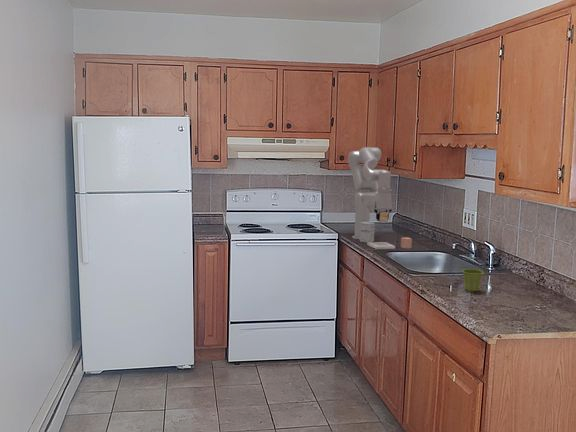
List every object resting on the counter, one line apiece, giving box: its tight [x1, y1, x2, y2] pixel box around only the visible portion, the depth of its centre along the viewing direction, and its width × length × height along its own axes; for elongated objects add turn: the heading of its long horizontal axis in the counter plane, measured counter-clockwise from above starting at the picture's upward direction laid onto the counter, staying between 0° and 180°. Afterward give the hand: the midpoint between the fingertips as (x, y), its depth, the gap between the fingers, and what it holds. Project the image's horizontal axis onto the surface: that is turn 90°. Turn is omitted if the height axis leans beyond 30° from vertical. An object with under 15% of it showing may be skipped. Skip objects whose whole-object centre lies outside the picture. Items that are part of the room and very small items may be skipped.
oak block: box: [376, 210, 389, 223], centre depth 380 cm, size 5×5×6 cm
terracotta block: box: [400, 237, 413, 249], centre depth 381 cm, size 5×5×6 cm
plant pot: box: [461, 268, 484, 292], centre depth 278 cm, size 9×9×9 cm
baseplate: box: [366, 241, 396, 250], centre depth 382 cm, size 14×13×2 cm
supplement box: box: [359, 221, 376, 244], centre depth 398 cm, size 7×7×13 cm
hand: (382, 219), depth 380 cm, fingers closed on oak block, 5 cm apart
